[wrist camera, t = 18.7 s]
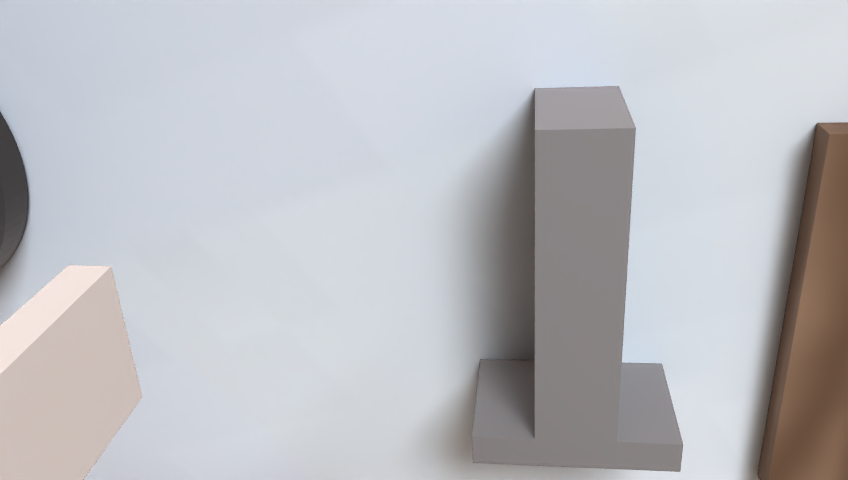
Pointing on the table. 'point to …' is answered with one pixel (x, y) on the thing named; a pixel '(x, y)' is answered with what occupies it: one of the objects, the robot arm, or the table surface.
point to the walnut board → (814, 330)
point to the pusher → (579, 309)
